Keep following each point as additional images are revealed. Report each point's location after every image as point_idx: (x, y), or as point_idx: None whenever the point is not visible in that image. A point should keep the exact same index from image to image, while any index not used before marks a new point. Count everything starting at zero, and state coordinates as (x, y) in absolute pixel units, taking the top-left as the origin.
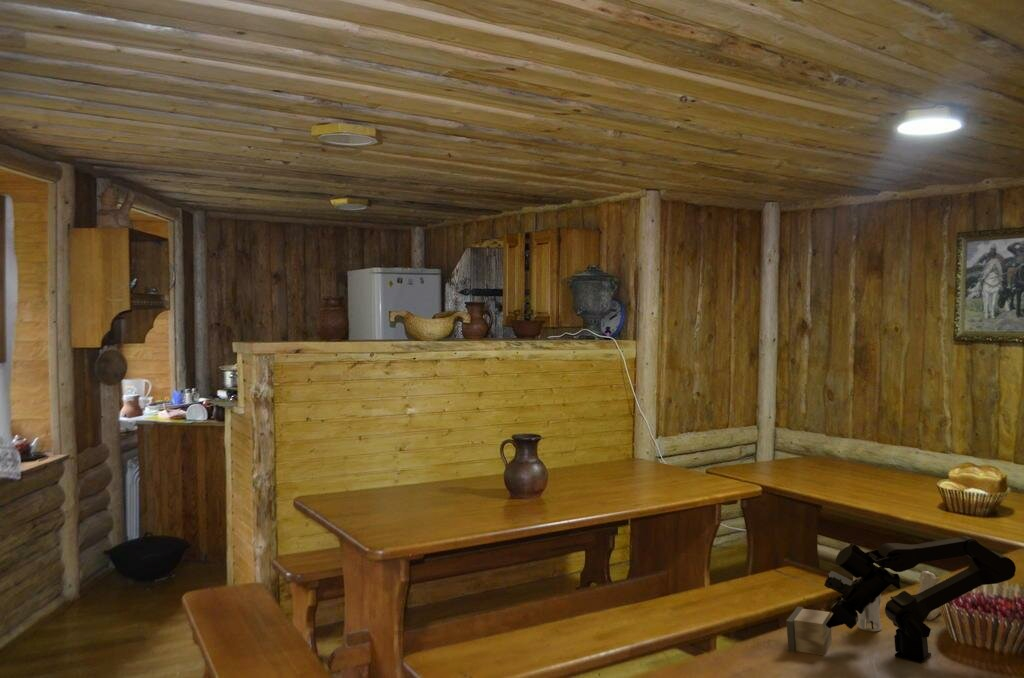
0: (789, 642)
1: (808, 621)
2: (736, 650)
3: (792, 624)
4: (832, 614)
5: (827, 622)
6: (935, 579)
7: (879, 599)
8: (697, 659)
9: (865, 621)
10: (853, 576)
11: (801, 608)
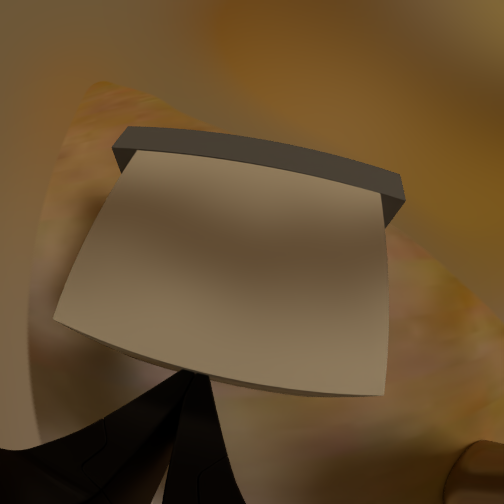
0: None
1: (104, 223)
2: (167, 118)
3: (116, 159)
4: (222, 441)
5: (165, 380)
6: None
7: None
8: (123, 88)
9: (472, 481)
10: None
11: (377, 187)
